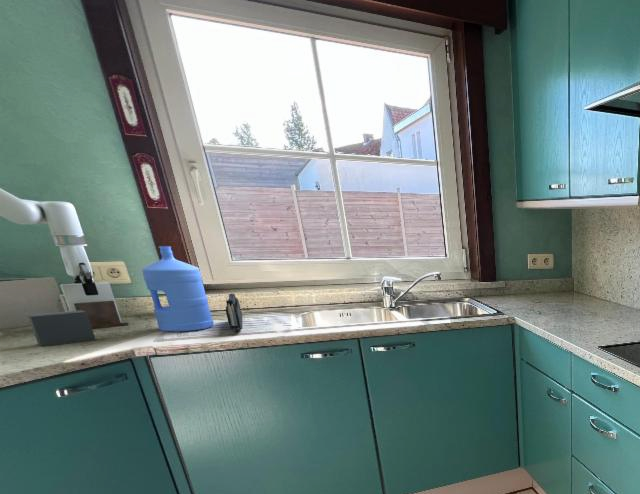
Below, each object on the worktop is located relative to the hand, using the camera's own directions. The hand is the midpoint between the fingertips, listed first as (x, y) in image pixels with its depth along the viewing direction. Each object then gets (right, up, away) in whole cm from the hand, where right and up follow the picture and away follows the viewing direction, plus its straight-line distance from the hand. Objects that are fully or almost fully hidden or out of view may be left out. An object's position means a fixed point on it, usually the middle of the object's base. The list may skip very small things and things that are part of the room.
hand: (88, 293), depth 171 cm
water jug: (+29, -11, +7) cm, 32 cm away
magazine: (+44, -10, +11) cm, 46 cm away
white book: (-1, -10, +4) cm, 11 cm away
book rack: (-3, -10, +6) cm, 12 cm away
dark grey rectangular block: (+12, -20, -17) cm, 29 cm away
